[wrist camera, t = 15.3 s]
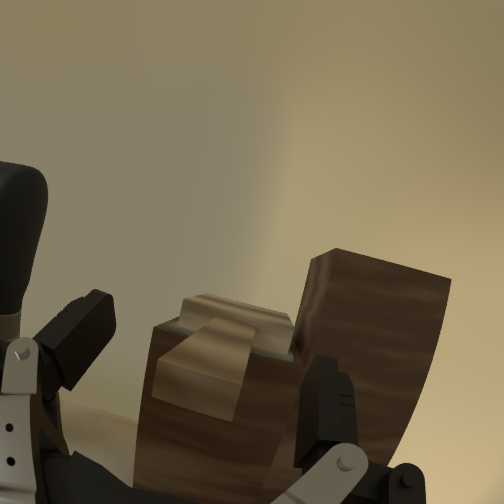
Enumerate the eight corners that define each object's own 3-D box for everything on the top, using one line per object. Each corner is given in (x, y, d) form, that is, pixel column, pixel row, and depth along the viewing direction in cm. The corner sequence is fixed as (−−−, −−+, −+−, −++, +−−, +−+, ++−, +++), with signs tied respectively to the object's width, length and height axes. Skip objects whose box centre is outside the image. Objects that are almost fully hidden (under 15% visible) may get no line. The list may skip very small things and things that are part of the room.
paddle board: (308, 436, 10) (327, 385, 10) (89, 368, 11) (95, 318, 11) (281, 333, 34) (287, 313, 34) (202, 312, 35) (206, 293, 35)
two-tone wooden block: (342, 534, 19) (451, 279, 22) (132, 495, 21) (181, 211, 24) (325, 477, 33) (394, 279, 35) (166, 444, 35) (211, 235, 37)
